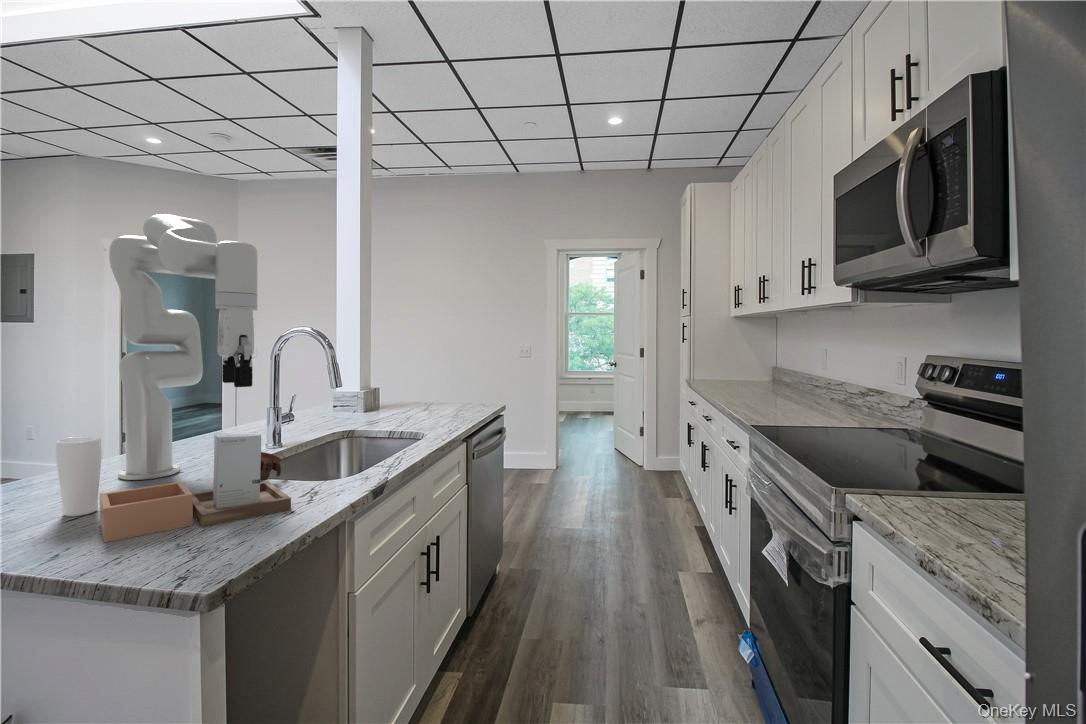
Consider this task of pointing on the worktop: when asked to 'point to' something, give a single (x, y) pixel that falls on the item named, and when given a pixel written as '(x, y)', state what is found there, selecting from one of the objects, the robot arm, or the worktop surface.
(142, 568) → the worktop surface
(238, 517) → the walnut tray
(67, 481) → the drinking glass
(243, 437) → the skincare box
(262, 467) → the brown irregular lump
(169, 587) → the worktop surface
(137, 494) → the open rectangular tray
